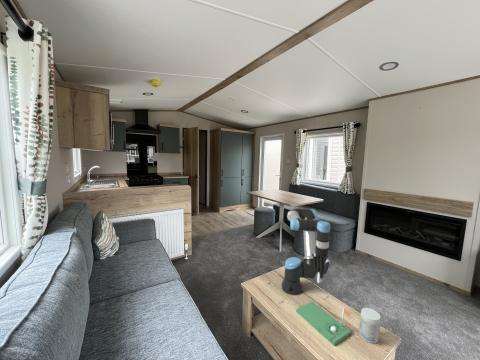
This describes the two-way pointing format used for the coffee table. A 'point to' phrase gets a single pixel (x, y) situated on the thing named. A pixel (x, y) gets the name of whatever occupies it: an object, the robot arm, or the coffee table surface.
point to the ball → (333, 329)
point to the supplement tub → (369, 325)
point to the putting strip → (324, 322)
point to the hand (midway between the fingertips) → (319, 281)
